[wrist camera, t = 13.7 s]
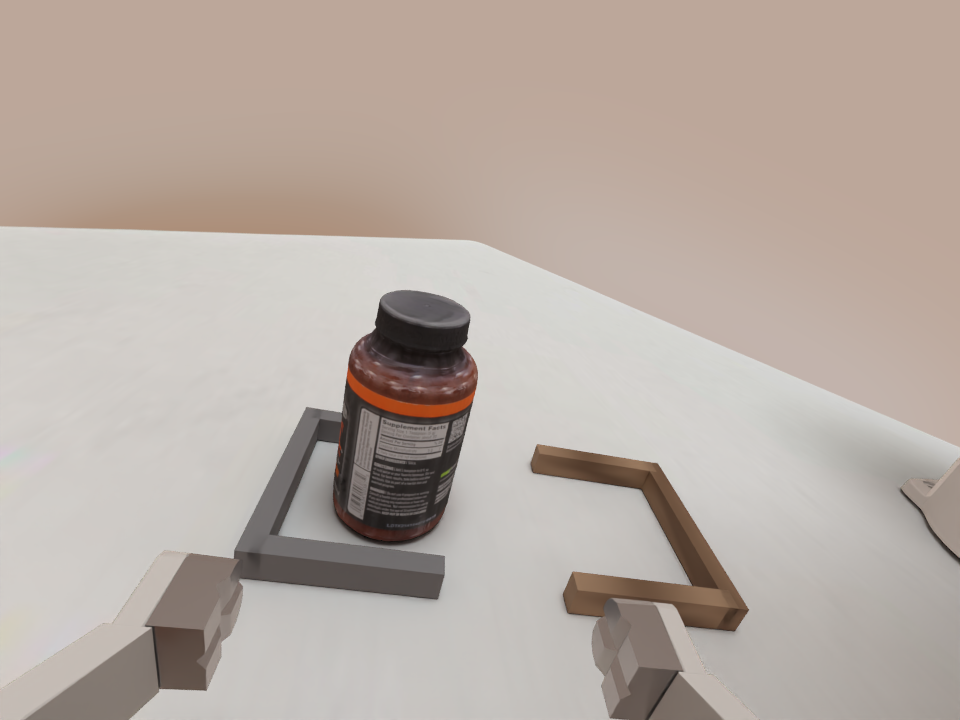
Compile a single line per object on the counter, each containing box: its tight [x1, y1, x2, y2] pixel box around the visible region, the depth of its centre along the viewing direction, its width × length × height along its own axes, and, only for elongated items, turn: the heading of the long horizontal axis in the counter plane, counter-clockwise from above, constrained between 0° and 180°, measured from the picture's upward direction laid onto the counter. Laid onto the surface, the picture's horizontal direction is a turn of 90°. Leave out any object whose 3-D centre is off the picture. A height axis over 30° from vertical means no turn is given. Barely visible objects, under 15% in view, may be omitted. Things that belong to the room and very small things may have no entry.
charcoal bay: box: [234, 407, 445, 599], centre depth 25 cm, size 8×11×2 cm
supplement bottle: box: [333, 290, 478, 541], centre depth 23 cm, size 6×6×11 cm
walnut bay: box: [531, 444, 749, 631], centre depth 27 cm, size 8×11×2 cm
